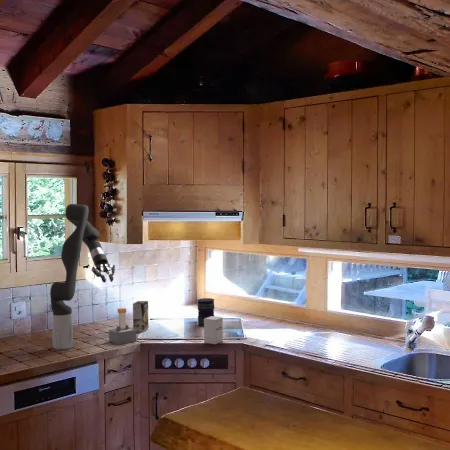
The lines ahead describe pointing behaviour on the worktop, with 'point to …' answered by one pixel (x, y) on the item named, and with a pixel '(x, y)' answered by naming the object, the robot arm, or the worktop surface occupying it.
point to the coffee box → (140, 316)
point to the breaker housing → (122, 335)
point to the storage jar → (205, 310)
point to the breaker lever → (122, 318)
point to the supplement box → (213, 330)
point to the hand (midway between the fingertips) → (108, 281)
